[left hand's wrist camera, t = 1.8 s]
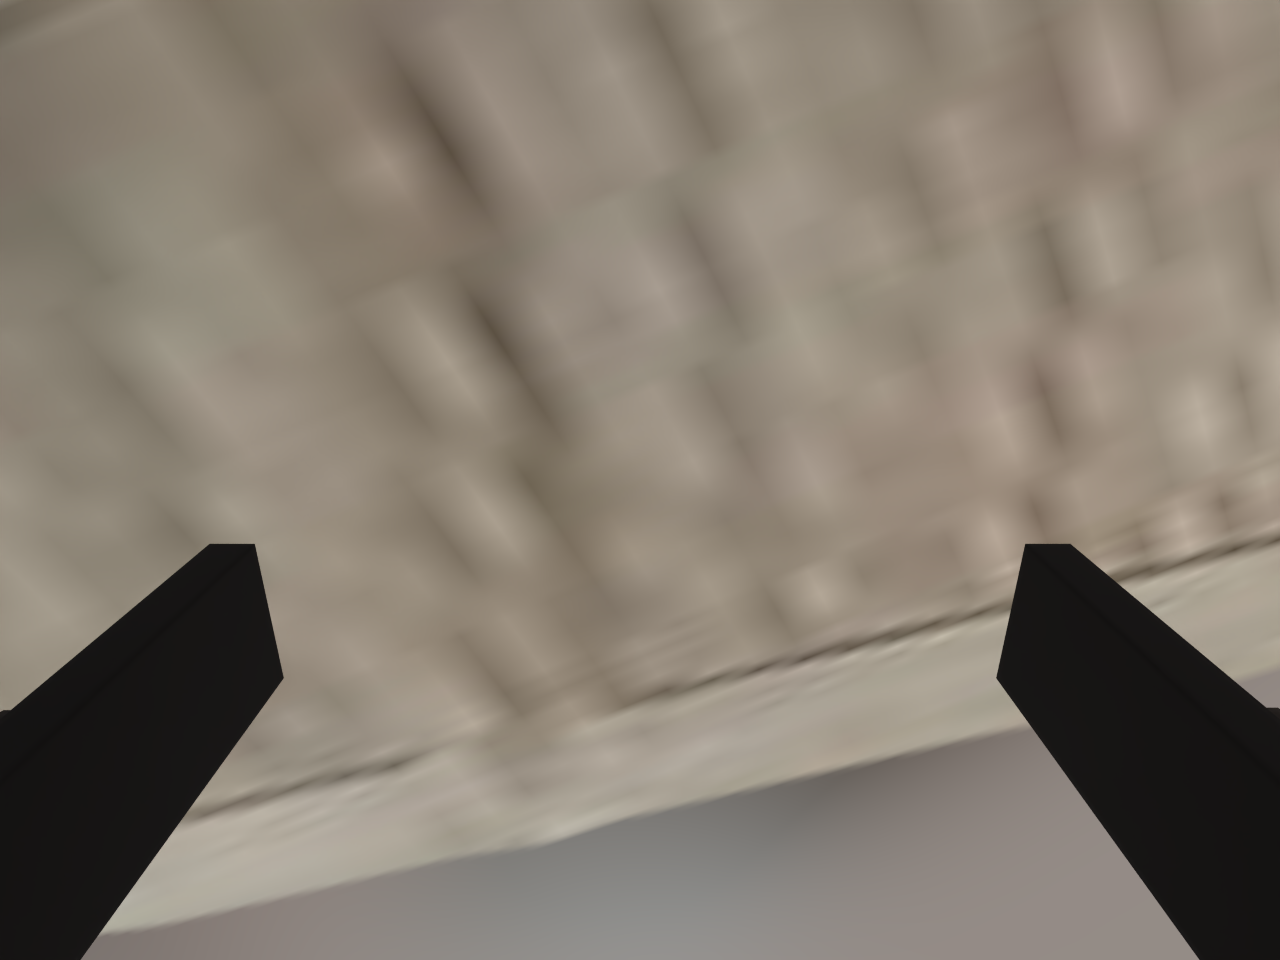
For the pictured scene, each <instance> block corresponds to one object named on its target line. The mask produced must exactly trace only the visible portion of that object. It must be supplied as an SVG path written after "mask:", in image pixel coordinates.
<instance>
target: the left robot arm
mask: <svg viewBox="0 0 1280 960" xmlns="http://www.w3.org/2000/svg"><path fill="white" fill-rule="evenodd" d="M283 678H284V677H283V673H282V668H281V663H280V659H279V654H278V650H277V645H276V640H275V636H274V631H273V626H272V622H271V617H270V613H269V608H268V603H267V599H266V594H265V589H264V585H263V580H262V576H261V571H260V566H259V562H258V557H257V552H256V548H255V544H209V545H208V546H207V547H205V548H204V549H203V550H202V551H201V552H199V553H198V554H197V555H196V556H195V557H194V558H192V559H191V560H190V561H189V562H188V563H186V564H185V565H184V566H183V567H182V568H180V569H179V570H178V571H177V572H176V573H174V574H173V575H172V576H171V577H170V578H168V579H167V580H166V581H165V582H164V583H162V584H161V585H160V586H159V587H158V588H156V589H155V590H154V591H153V592H152V593H150V594H149V595H148V596H147V597H146V598H144V599H143V600H142V601H141V602H140V603H138V604H137V605H136V606H135V607H134V608H132V609H131V610H130V611H129V612H128V613H127V614H125V615H124V616H123V617H122V618H121V619H119V620H118V621H117V622H116V623H115V624H113V625H112V626H111V627H110V628H109V629H107V630H106V631H105V632H104V633H103V634H101V635H100V636H99V637H98V638H97V639H95V640H94V641H93V642H92V643H91V644H89V645H88V646H87V647H86V648H85V649H83V650H82V651H81V652H80V653H79V654H77V655H76V656H75V657H74V658H73V659H71V660H70V661H69V662H68V663H67V664H66V665H64V666H63V667H62V668H61V669H60V670H58V671H57V672H56V673H55V674H54V675H52V676H51V677H50V678H49V679H48V680H46V681H45V682H44V683H43V684H42V685H40V686H39V687H38V688H37V689H36V690H34V691H33V692H32V693H31V694H30V695H28V696H27V697H26V698H25V699H24V700H22V701H21V702H20V703H19V704H18V705H16V706H15V707H14V708H13V709H12V710H3V711H1V712H0V960H81V958H82V957H83V956H84V954H85V953H86V951H87V950H88V949H89V947H90V946H91V944H92V943H93V942H94V940H95V939H96V938H97V936H98V935H99V933H100V932H101V931H102V929H103V928H104V926H105V925H106V924H107V922H108V921H109V920H110V918H111V917H112V915H113V914H114V913H115V911H116V910H117V908H118V907H119V906H120V904H121V903H122V902H123V900H124V899H125V897H126V896H127V895H128V893H129V892H130V890H131V889H132V888H133V886H134V885H135V884H136V882H137V881H138V879H139V878H140V877H141V875H142V874H143V872H144V871H145V870H146V868H147V867H148V865H149V864H150V863H151V861H152V860H153V859H154V857H155V856H156V854H157V853H158V852H159V850H160V849H161V847H162V846H163V845H164V843H165V842H166V841H167V839H168V838H169V836H170V835H171V834H172V832H173V831H174V829H175V828H176V827H177V825H178V824H179V823H180V821H181V820H182V818H183V817H184V816H185V814H186V813H187V811H188V810H189V809H190V807H191V806H192V805H193V803H194V802H195V800H196V799H197V798H198V796H199V795H200V793H201V792H202V791H203V789H204V788H205V786H206V785H207V784H208V782H209V781H210V780H211V778H212V777H213V775H214V774H215V773H216V771H217V770H218V768H219V767H220V766H221V764H222V763H223V762H224V760H225V759H226V757H227V756H228V755H229V753H230V752H231V750H232V749H233V748H234V746H235V745H236V744H237V742H238V741H239V739H240V738H241V737H242V735H243V734H244V732H245V731H246V730H247V728H248V727H249V725H250V724H251V723H252V721H253V720H254V719H255V717H256V716H257V714H258V713H259V712H260V710H261V709H262V707H263V706H264V705H265V703H266V702H267V701H268V699H269V698H270V696H271V695H272V694H273V692H274V691H275V689H276V688H277V687H278V685H279V684H280V683H281V681H282V680H283ZM996 678H997V680H998V681H999V683H1000V684H1001V685H1002V687H1003V688H1004V689H1005V691H1006V692H1007V694H1008V695H1009V696H1010V698H1011V699H1012V701H1013V702H1014V703H1015V705H1016V706H1017V707H1018V709H1019V710H1020V712H1021V713H1022V714H1023V716H1024V717H1025V719H1026V720H1027V721H1028V723H1029V724H1030V725H1031V727H1032V728H1033V730H1034V731H1035V732H1036V734H1037V735H1038V737H1039V738H1040V739H1041V741H1042V742H1043V744H1044V745H1045V746H1046V748H1047V749H1048V750H1049V752H1050V753H1051V755H1052V756H1053V757H1054V759H1055V760H1056V761H1057V763H1058V764H1059V766H1060V767H1061V768H1062V770H1063V771H1064V773H1065V774H1066V775H1067V777H1068V778H1069V780H1070V781H1071V782H1072V784H1073V785H1074V786H1075V788H1076V789H1077V791H1078V792H1079V793H1080V795H1081V796H1082V798H1083V799H1084V800H1085V802H1086V803H1087V804H1088V806H1089V807H1090V809H1091V810H1092V811H1093V813H1094V814H1095V816H1096V817H1097V818H1098V820H1099V821H1100V822H1101V824H1102V825H1103V827H1104V828H1105V829H1106V831H1107V832H1108V834H1109V835H1110V836H1111V838H1112V839H1113V841H1114V842H1115V843H1116V845H1117V846H1118V847H1119V849H1120V850H1121V852H1122V853H1123V854H1124V856H1125V857H1126V859H1127V860H1128V861H1129V863H1130V864H1131V865H1132V867H1133V868H1134V870H1135V871H1136V872H1137V874H1138V875H1139V877H1140V878H1141V879H1142V881H1143V882H1144V883H1145V885H1146V886H1147V888H1148V889H1149V890H1150V892H1151V893H1152V894H1153V896H1154V897H1155V899H1156V900H1157V901H1158V903H1159V904H1160V906H1161V907H1162V908H1163V910H1164V911H1165V913H1166V914H1167V915H1168V917H1169V918H1170V920H1171V921H1172V922H1173V924H1174V925H1175V926H1176V928H1177V929H1178V931H1179V932H1180V933H1181V935H1182V936H1183V938H1184V939H1185V940H1186V942H1187V943H1188V944H1189V946H1190V947H1191V949H1192V950H1193V951H1194V953H1195V954H1196V955H1197V957H1198V958H1199V960H1280V709H1279V708H1266V707H1265V706H1264V705H1262V704H1261V703H1260V702H1259V701H1258V700H1256V699H1255V698H1254V697H1253V696H1252V695H1250V694H1249V693H1248V692H1247V691H1246V690H1244V689H1243V688H1242V687H1241V686H1240V685H1238V684H1237V683H1236V682H1235V681H1234V680H1232V679H1231V678H1230V677H1229V676H1228V675H1226V674H1225V673H1224V672H1223V671H1222V670H1220V669H1219V668H1218V667H1217V666H1216V665H1214V664H1213V663H1212V662H1211V661H1210V660H1209V659H1207V658H1206V657H1205V656H1204V655H1203V654H1201V653H1200V652H1199V651H1198V650H1197V649H1195V648H1194V647H1193V646H1192V645H1191V644H1189V643H1188V642H1187V641H1186V640H1185V639H1183V638H1182V637H1181V636H1180V635H1179V634H1177V633H1176V632H1175V631H1174V630H1173V629H1171V628H1170V627H1169V626H1168V625H1167V624H1165V623H1164V622H1163V621H1162V620H1161V619H1159V618H1158V617H1157V616H1156V615H1155V614H1153V613H1152V612H1151V611H1150V610H1149V609H1148V608H1146V607H1145V606H1144V605H1143V604H1142V603H1140V602H1139V601H1138V600H1137V599H1136V598H1134V597H1133V596H1132V595H1131V594H1130V593H1128V592H1127V591H1126V590H1125V589H1124V588H1122V587H1121V586H1120V585H1119V584H1118V583H1116V582H1115V581H1114V580H1113V579H1112V578H1110V577H1109V576H1108V575H1107V574H1106V573H1104V572H1103V571H1102V570H1101V569H1100V568H1098V567H1097V566H1096V565H1095V564H1094V563H1092V562H1091V561H1090V560H1089V559H1088V558H1086V557H1085V556H1084V555H1083V554H1082V553H1081V552H1079V551H1078V550H1077V549H1076V548H1075V547H1073V546H1072V545H1071V544H1025V548H1024V552H1023V557H1022V562H1021V566H1020V571H1019V576H1018V580H1017V585H1016V589H1015V594H1014V599H1013V603H1012V608H1011V613H1010V617H1009V622H1008V626H1007V631H1006V636H1005V640H1004V645H1003V650H1002V654H1001V659H1000V663H999V668H998V673H997V677H996Z"/></svg>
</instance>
